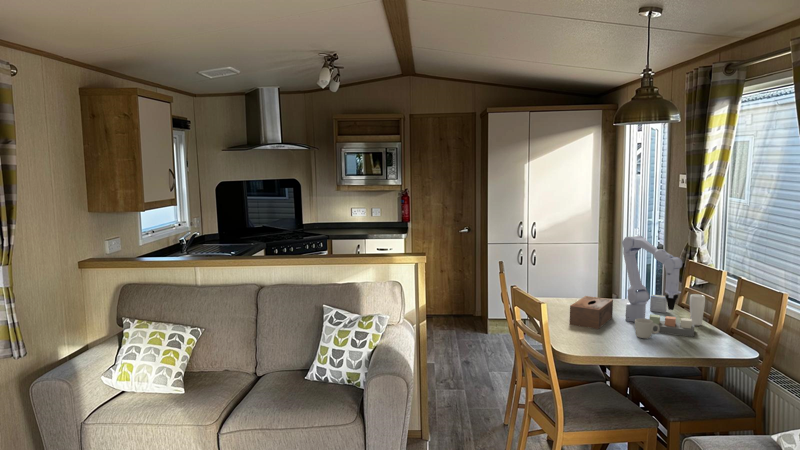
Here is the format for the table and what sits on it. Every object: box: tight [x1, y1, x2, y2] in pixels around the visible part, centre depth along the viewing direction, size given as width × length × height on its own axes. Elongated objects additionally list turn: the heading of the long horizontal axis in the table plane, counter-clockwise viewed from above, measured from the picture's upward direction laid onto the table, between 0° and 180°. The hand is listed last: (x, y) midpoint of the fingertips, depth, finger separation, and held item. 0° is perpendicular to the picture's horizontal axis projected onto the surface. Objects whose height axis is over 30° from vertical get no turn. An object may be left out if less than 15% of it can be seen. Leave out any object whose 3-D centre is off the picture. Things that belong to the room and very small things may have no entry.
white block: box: [680, 317, 692, 329], centre depth 274 cm, size 4×4×4 cm
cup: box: [634, 318, 660, 339], centre depth 267 cm, size 11×8×8 cm
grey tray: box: [653, 320, 696, 338], centre depth 278 cm, size 21×11×3 cm, turn 61°
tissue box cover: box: [569, 295, 614, 330], centre depth 295 cm, size 26×14×10 cm, turn 145°
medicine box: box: [649, 294, 668, 314], centre depth 314 cm, size 8×4×9 cm, turn 58°
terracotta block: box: [664, 315, 677, 327], centre depth 277 cm, size 4×4×4 cm
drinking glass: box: [689, 293, 706, 326], centre depth 288 cm, size 7×7×15 cm
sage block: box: [648, 313, 661, 325], centre depth 281 cm, size 4×4×4 cm
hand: (670, 309), depth 277 cm, fingers closed
